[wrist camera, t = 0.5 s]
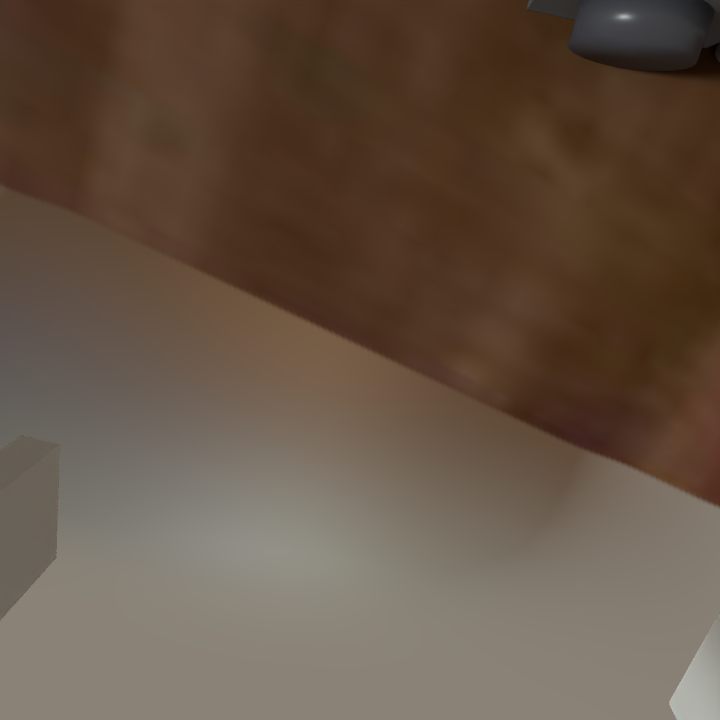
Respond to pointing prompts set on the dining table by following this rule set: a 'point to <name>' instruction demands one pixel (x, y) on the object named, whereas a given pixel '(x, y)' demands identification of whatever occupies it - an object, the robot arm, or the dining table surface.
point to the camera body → (638, 30)
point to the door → (717, 52)
